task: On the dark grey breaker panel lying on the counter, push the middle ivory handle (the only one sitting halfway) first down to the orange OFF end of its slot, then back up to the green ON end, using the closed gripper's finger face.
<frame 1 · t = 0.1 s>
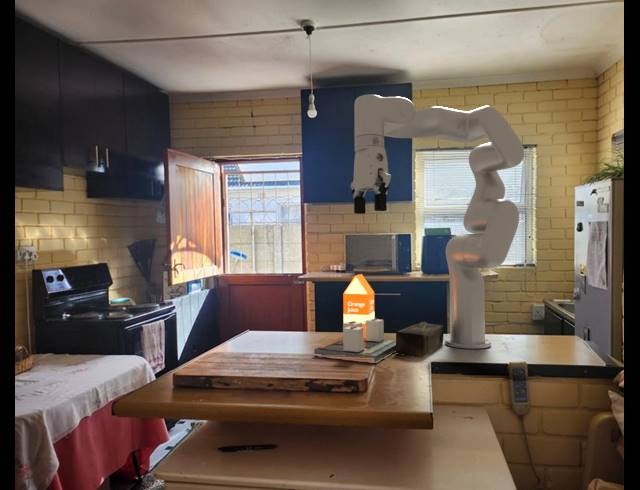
hand: (369, 212, 118), 37 cm above the table, tool pointing down, fingers open, 9 cm apart
orange juice: (359, 341, 139), on the table
panel: (359, 352, 123), on the table
breaker mid: (352, 332, 124), point 5 cm above the table, slide at 3.5 cm
beverage carton: (420, 351, 127), on the table
breaker 2: (374, 329, 129), point 5 cm above the table, slide at 7.0 cm
breaker 1: (353, 338, 117), point 5 cm above the table, slide at 7.0 cm
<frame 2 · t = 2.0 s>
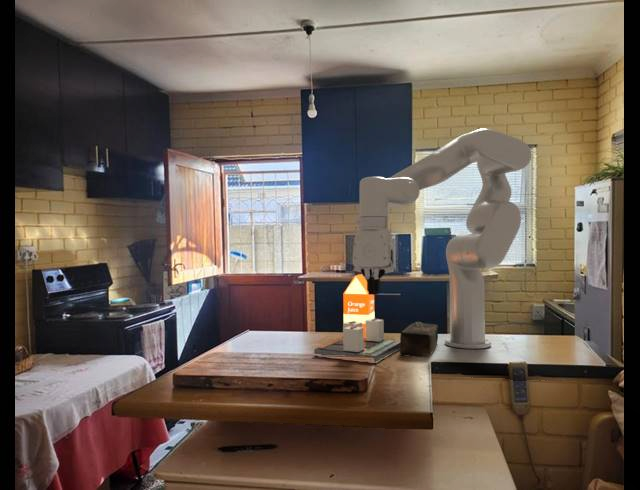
hand: (373, 294, 121), 16 cm above the table, tool pointing down, fingers closed
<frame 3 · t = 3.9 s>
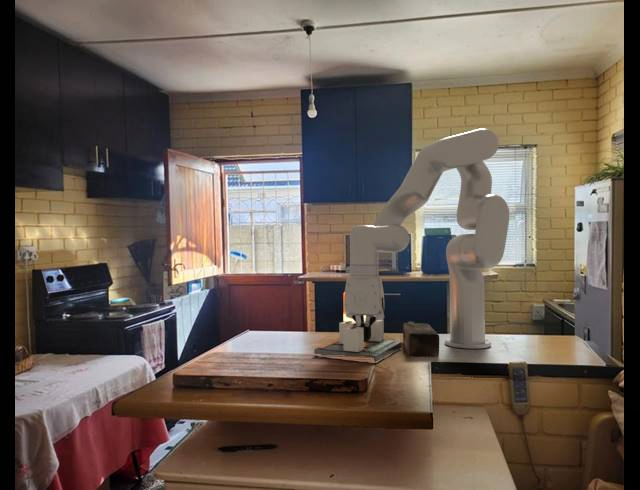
hand: (364, 340, 123), 3 cm above the table, tool pointing down, fingers closed
breaker mid: (348, 332, 125), point 5 cm above the table, slide at 2.4 cm, touching gripper
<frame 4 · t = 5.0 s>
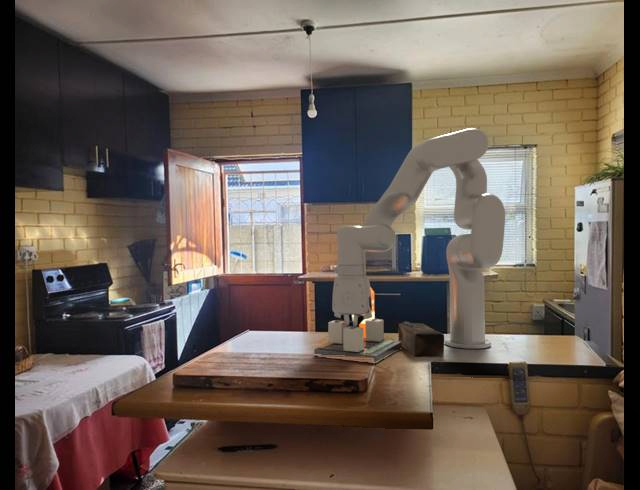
hand: (353, 339, 124), 3 cm above the table, tool pointing down, fingers closed
breaker mid: (337, 331, 127), point 5 cm above the table, slide at -1.0 cm, touching gripper
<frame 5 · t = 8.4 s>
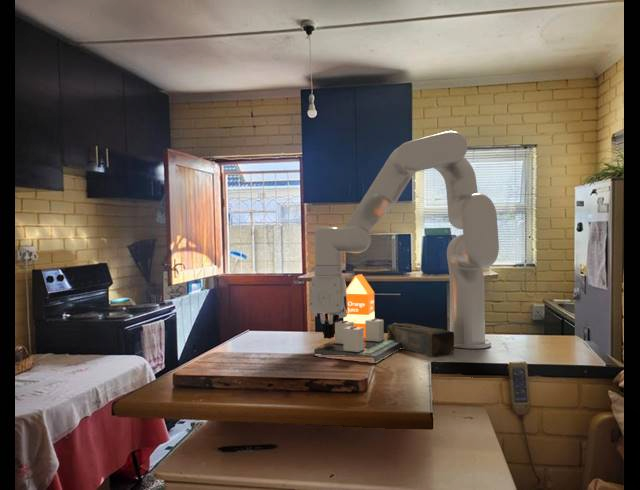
hand: (329, 337, 128), 3 cm above the table, tool pointing down, fingers closed
breaker mid: (344, 331, 126), point 5 cm above the table, slide at 1.1 cm, touching gripper
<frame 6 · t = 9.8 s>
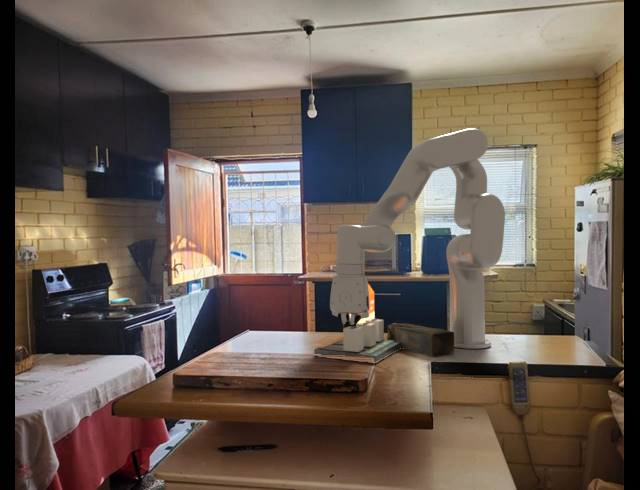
hand: (349, 338, 125), 4 cm above the table, tool pointing down, fingers closed
breaker mid: (366, 333, 122), point 5 cm above the table, slide at 7.5 cm, touching gripper
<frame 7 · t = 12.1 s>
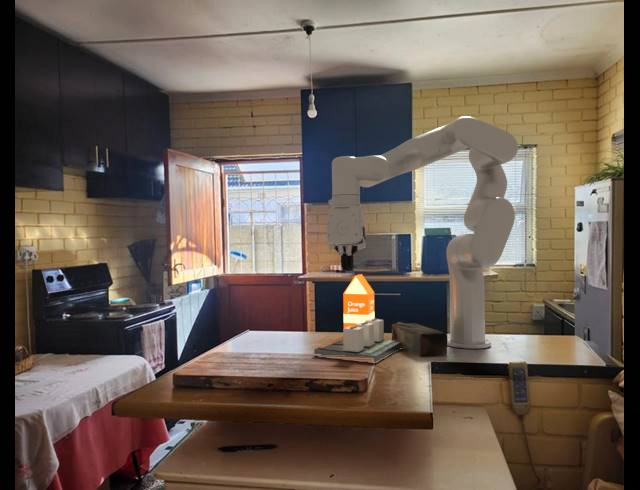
hand: (347, 270, 125), 22 cm above the table, tool pointing down, fingers closed
breaker mid: (364, 333, 123), point 5 cm above the table, slide at 7.0 cm
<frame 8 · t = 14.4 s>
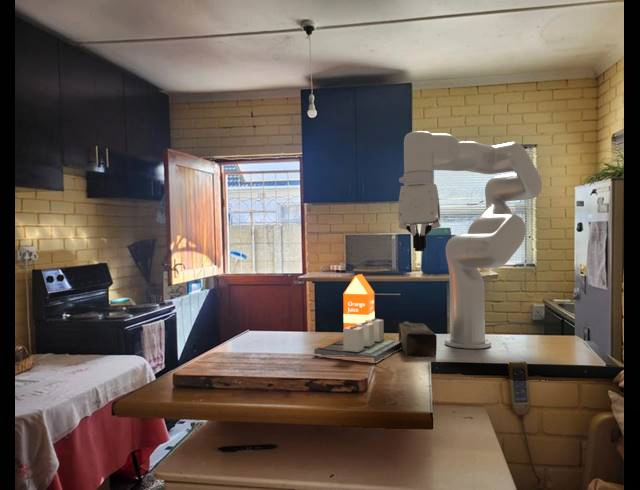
hand: (419, 251, 120), 27 cm above the table, tool pointing down, fingers closed
at the end: breaker mid slide at 7.0 cm; breaker 2 slide at 7.0 cm; breaker 1 slide at 7.0 cm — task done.
